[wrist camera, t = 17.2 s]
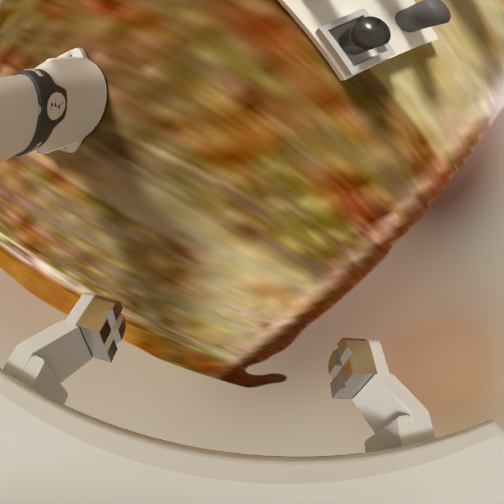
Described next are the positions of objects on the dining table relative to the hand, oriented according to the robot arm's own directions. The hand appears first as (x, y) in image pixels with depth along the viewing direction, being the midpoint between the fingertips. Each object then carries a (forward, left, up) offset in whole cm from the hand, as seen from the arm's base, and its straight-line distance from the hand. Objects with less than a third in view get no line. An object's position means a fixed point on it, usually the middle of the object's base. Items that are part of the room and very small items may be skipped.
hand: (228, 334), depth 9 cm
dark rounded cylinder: (+9, +18, -30) cm, 36 cm away
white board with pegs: (+9, +25, -33) cm, 42 cm away
